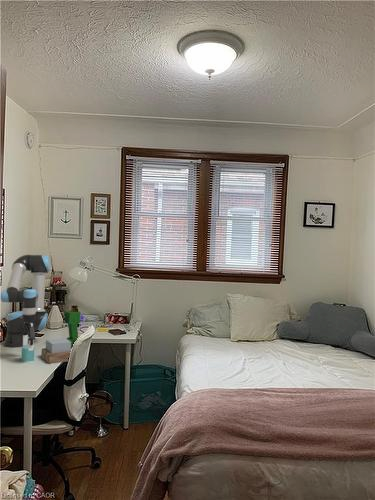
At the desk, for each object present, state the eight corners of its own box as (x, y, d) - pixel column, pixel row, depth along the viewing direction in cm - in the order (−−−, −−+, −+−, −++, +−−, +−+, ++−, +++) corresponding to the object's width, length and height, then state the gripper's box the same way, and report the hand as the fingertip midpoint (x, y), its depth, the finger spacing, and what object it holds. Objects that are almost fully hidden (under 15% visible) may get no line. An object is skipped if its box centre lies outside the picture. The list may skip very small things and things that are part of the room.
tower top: (45, 349, 250) (46, 339, 250) (64, 346, 258) (64, 337, 258) (51, 353, 241) (52, 344, 241) (70, 351, 248) (71, 341, 248)
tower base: (41, 357, 251) (41, 348, 251) (65, 354, 260) (66, 345, 260) (49, 364, 238) (49, 355, 238) (74, 360, 248) (74, 351, 248)
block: (21, 359, 244) (21, 347, 244) (31, 358, 248) (31, 345, 248) (23, 362, 240) (24, 349, 239) (33, 360, 243) (34, 348, 243)
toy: (63, 346, 278) (64, 304, 277) (83, 345, 283) (85, 304, 282) (64, 350, 268) (65, 307, 267) (85, 349, 273) (86, 306, 272)
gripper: (17, 311, 251) (16, 344, 251) (28, 317, 231) (27, 353, 231) (29, 310, 255) (28, 342, 255) (41, 316, 235) (39, 351, 235)
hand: (27, 347), depth 243 cm, fingers open, 13 cm apart
